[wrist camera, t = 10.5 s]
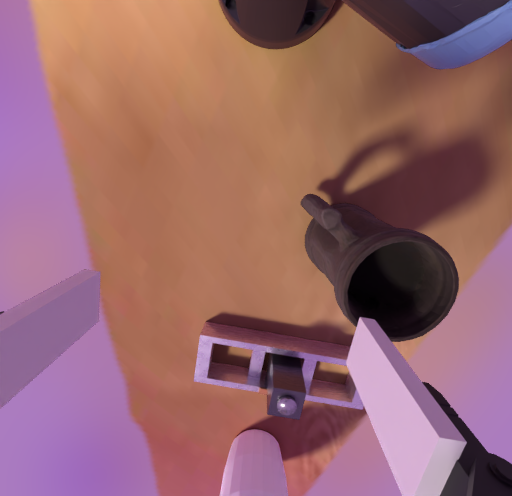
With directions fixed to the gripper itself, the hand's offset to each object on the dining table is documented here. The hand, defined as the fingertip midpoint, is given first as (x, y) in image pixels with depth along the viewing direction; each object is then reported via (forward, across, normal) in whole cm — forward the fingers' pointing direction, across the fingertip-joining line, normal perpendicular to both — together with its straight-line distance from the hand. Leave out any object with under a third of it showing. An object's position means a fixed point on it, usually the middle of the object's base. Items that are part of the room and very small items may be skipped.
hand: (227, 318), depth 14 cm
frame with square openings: (+29, +9, -22) cm, 37 cm away
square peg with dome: (+29, +9, -22) cm, 37 cm away
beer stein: (+29, +11, +1) cm, 31 cm away
